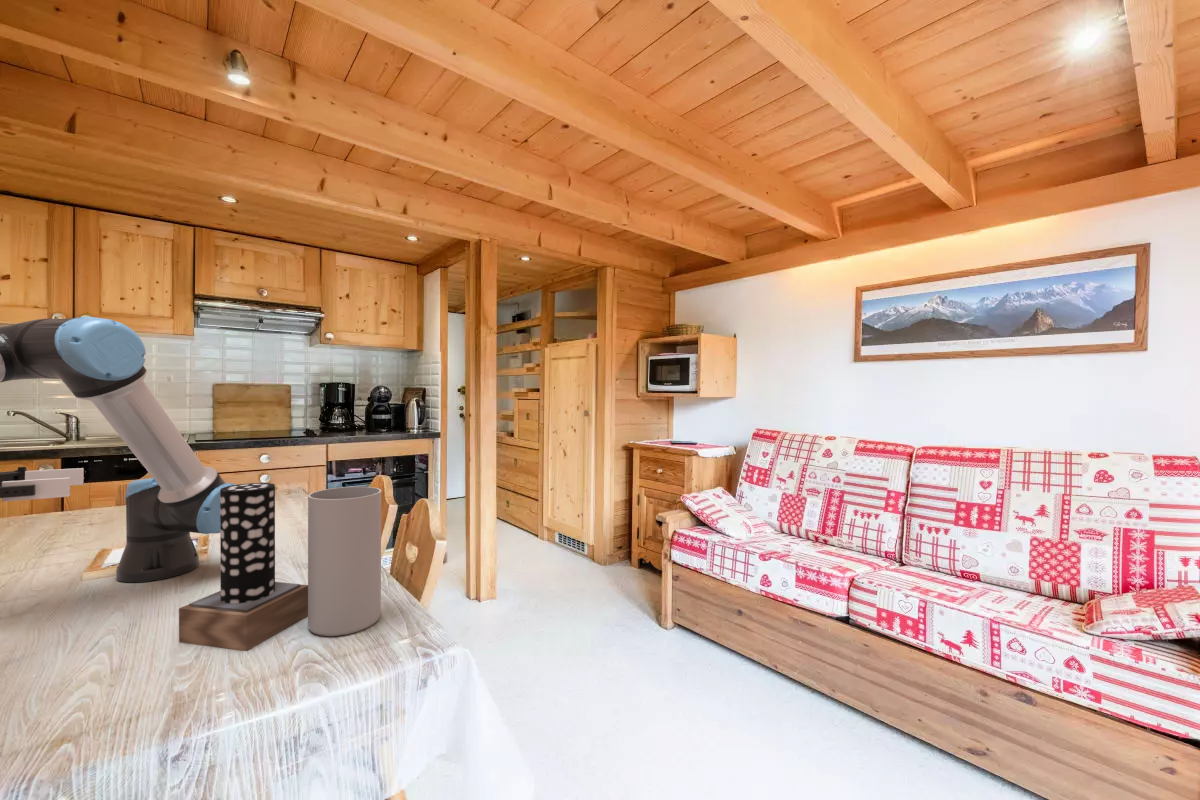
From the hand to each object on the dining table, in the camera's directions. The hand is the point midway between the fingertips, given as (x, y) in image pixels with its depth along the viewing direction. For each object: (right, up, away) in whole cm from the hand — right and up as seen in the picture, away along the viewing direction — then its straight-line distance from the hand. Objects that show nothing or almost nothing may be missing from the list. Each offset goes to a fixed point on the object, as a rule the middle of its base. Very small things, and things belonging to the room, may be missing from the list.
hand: (77, 481), depth 80 cm
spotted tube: (+17, -23, +14) cm, 32 cm away
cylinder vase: (+34, -30, +17) cm, 48 cm away
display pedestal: (+17, -30, +15) cm, 37 cm away
